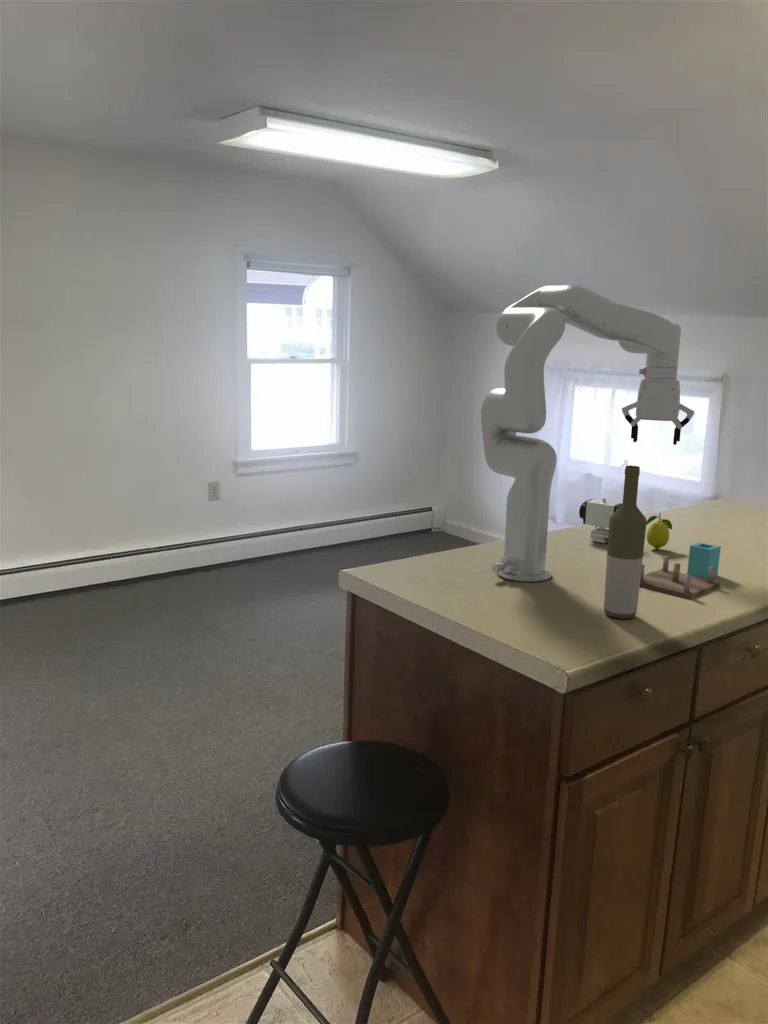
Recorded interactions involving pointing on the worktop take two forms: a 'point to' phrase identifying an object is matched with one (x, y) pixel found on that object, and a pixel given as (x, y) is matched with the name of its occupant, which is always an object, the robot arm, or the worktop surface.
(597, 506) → the pneumatic valve
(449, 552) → the worktop surface
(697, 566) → the hollow square block
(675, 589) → the pegboard
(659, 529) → the lemon
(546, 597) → the worktop surface
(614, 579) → the bottle
